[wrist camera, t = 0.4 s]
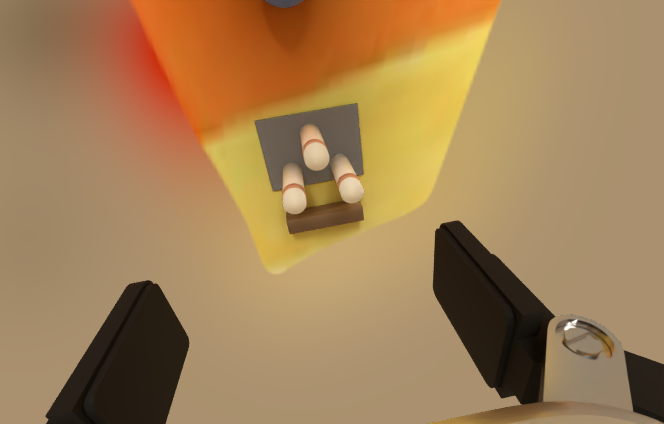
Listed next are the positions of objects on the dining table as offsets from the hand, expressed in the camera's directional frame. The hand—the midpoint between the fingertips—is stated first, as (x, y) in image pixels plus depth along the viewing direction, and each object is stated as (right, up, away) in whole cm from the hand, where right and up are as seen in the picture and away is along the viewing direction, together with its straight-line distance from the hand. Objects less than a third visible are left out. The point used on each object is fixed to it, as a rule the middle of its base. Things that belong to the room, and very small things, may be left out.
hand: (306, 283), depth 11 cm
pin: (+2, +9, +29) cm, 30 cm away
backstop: (0, +2, +32) cm, 32 cm away
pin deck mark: (-1, +10, +28) cm, 29 cm away
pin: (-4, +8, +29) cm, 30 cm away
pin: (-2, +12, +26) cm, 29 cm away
